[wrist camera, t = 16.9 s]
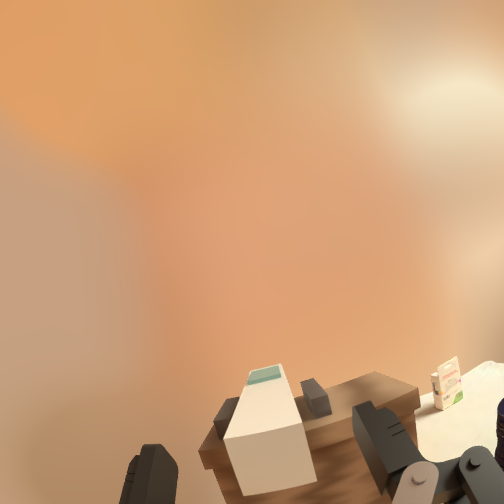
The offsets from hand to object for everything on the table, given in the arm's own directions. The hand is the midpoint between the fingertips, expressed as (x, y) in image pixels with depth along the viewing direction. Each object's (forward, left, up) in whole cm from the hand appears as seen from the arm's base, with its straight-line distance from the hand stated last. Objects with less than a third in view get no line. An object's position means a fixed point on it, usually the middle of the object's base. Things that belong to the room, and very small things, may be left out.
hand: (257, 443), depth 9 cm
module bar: (0, -14, -4) cm, 15 cm away
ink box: (-48, -61, -37) cm, 86 cm away
